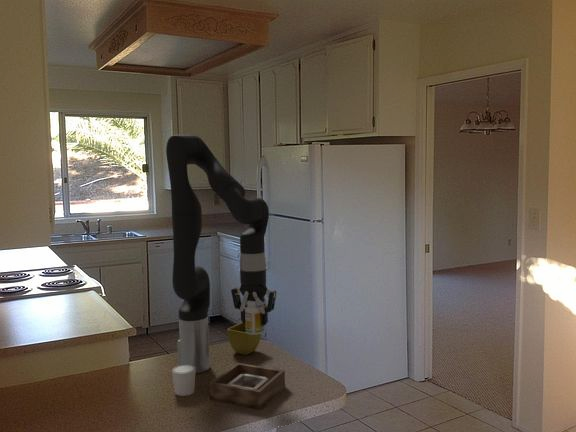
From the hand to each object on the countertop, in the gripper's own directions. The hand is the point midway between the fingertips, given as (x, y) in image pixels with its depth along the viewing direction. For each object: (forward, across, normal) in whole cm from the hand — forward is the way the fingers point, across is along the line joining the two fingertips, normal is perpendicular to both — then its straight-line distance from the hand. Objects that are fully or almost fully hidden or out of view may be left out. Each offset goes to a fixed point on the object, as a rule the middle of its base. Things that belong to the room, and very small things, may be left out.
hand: (254, 323), depth 161 cm
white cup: (+20, -19, -10) cm, 29 cm away
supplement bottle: (+3, 0, 0) cm, 3 cm away
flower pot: (+20, -17, +25) cm, 36 cm away
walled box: (+19, 0, -4) cm, 20 cm away
